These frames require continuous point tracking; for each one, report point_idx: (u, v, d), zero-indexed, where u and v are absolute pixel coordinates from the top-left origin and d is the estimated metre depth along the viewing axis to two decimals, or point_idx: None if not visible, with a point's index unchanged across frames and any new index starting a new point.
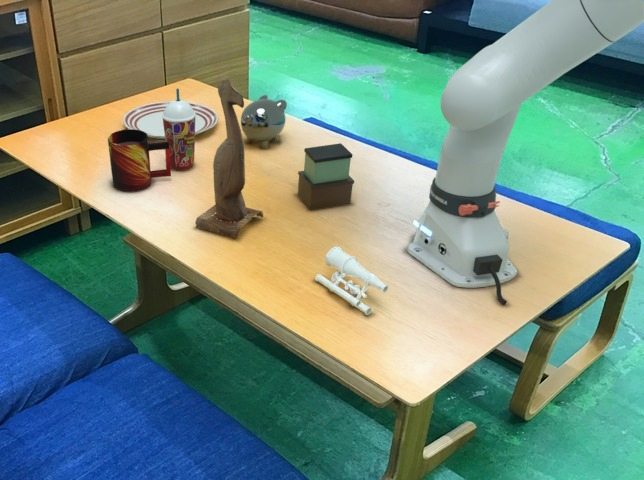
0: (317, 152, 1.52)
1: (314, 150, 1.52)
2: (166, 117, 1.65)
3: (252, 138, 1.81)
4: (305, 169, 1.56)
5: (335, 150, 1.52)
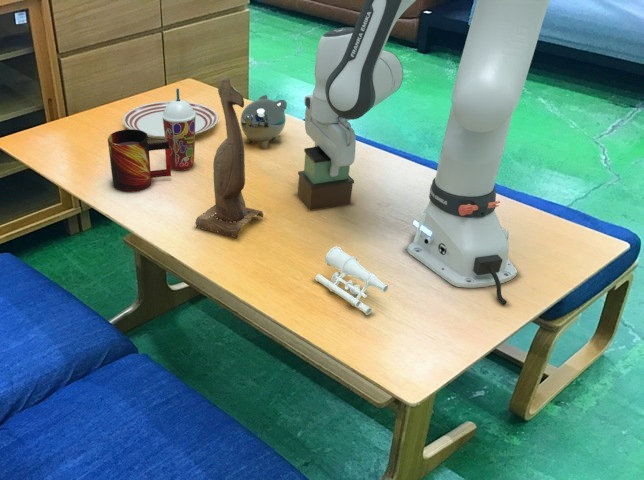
0: (317, 152, 1.52)
1: (314, 150, 1.52)
2: (166, 117, 1.65)
3: (251, 138, 1.81)
4: (305, 169, 1.56)
5: None
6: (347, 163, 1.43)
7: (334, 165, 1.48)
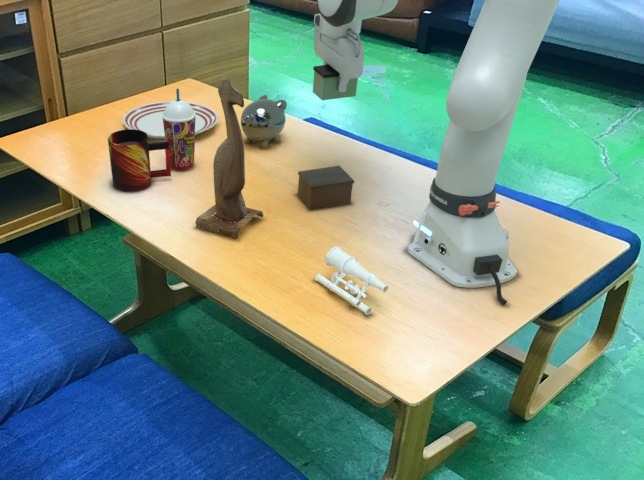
0: (326, 69, 1.58)
1: (323, 67, 1.58)
2: (166, 117, 1.65)
3: (252, 138, 1.81)
4: (314, 88, 1.61)
5: None
6: (355, 75, 1.49)
7: (343, 80, 1.54)
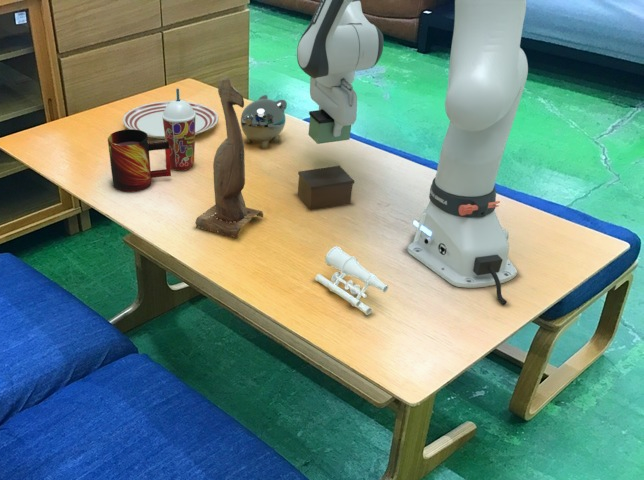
0: (321, 114, 1.65)
1: (318, 113, 1.66)
2: (166, 117, 1.65)
3: (252, 138, 1.81)
4: (310, 131, 1.69)
5: None
6: (349, 122, 1.57)
7: (337, 125, 1.62)
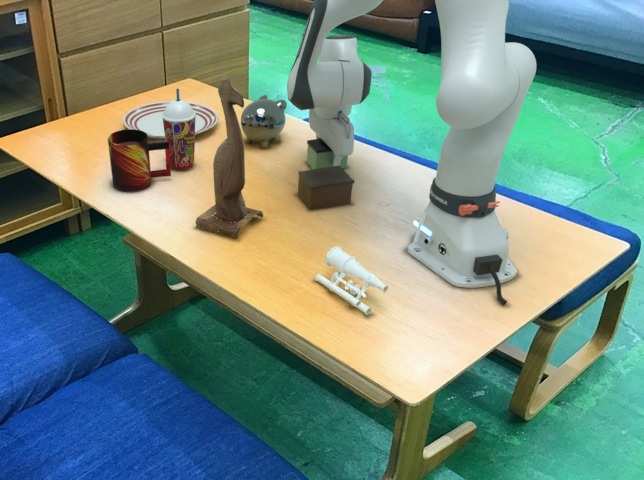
0: (319, 143, 1.69)
1: (316, 142, 1.70)
2: (166, 117, 1.65)
3: (251, 138, 1.81)
4: (308, 159, 1.73)
5: None
6: (346, 153, 1.61)
7: (337, 157, 1.66)
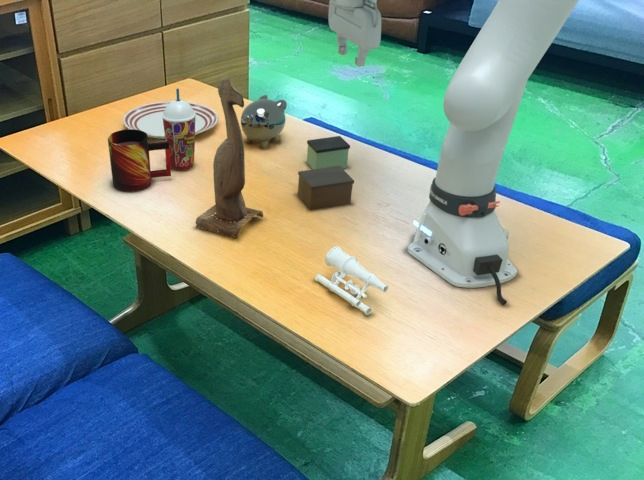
0: (319, 143, 1.69)
1: (316, 142, 1.70)
2: (166, 117, 1.65)
3: (251, 138, 1.81)
4: (308, 159, 1.73)
5: (335, 142, 1.70)
6: (373, 46, 1.46)
7: (361, 53, 1.50)
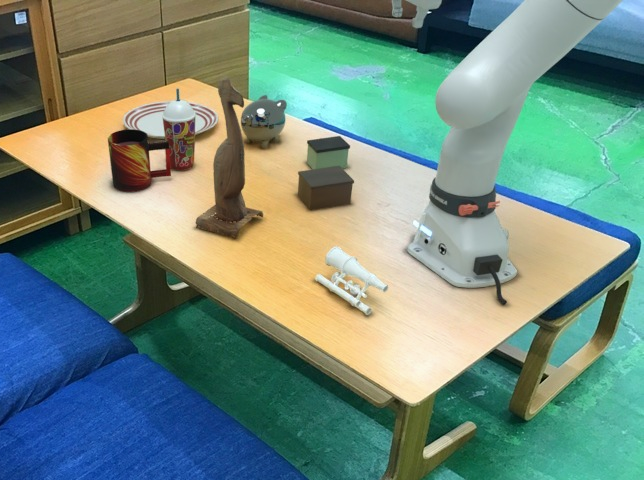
0: (319, 143, 1.69)
1: (316, 142, 1.70)
2: (166, 117, 1.65)
3: (252, 138, 1.81)
4: (308, 159, 1.73)
5: (335, 142, 1.70)
6: (434, 5, 1.40)
7: (420, 13, 1.45)
